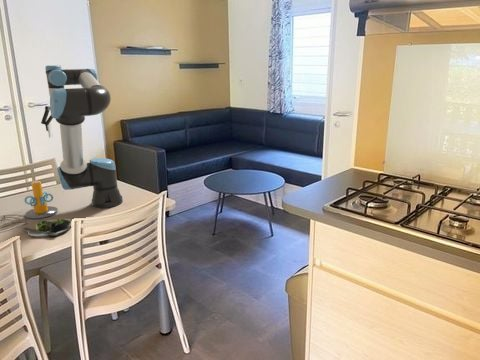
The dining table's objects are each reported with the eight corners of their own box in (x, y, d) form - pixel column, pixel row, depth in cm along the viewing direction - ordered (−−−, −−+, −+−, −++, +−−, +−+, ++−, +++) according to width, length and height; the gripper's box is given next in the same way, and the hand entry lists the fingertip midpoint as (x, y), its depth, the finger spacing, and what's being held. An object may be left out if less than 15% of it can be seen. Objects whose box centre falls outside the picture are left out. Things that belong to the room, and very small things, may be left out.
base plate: (64, 210, 189) (63, 208, 189) (40, 221, 177) (39, 219, 176) (43, 206, 194) (43, 204, 194) (18, 216, 182) (18, 214, 182)
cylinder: (42, 217, 178) (37, 186, 174) (22, 215, 180) (16, 185, 176) (59, 207, 190) (54, 178, 185) (40, 206, 192) (35, 177, 187)
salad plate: (14, 241, 158) (12, 230, 157) (33, 223, 175) (31, 214, 174) (63, 238, 159) (61, 228, 158) (77, 221, 176) (75, 212, 175)
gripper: (84, 95, 203) (89, 134, 209) (36, 96, 202) (43, 135, 208) (79, 96, 196) (85, 137, 202) (29, 97, 195) (36, 138, 201)
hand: (63, 136), depth 205 cm, fingers open, 13 cm apart
